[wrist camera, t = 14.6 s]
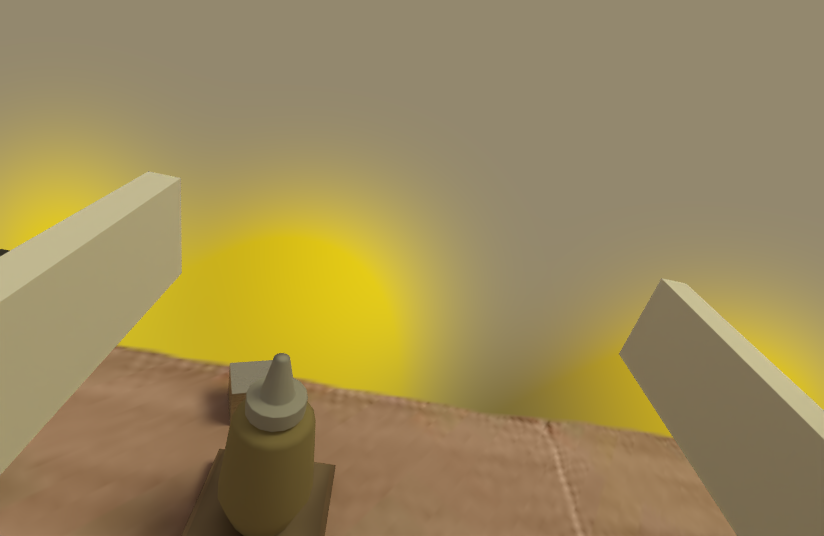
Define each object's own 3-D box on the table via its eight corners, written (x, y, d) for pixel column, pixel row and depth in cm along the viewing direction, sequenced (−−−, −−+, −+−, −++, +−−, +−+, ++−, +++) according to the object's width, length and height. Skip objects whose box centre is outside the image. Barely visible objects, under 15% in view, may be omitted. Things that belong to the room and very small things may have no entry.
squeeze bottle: (311, 471, 46) (337, 330, 38) (304, 554, 39) (335, 403, 31) (227, 468, 44) (236, 319, 36) (204, 553, 37) (209, 393, 29)
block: (270, 390, 58) (273, 360, 56) (275, 420, 54) (279, 389, 52) (228, 394, 56) (229, 363, 53) (229, 426, 52) (231, 394, 49)
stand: (332, 477, 49) (336, 462, 48) (312, 602, 38) (316, 586, 37) (218, 461, 48) (219, 445, 46) (165, 586, 37) (165, 569, 36)
